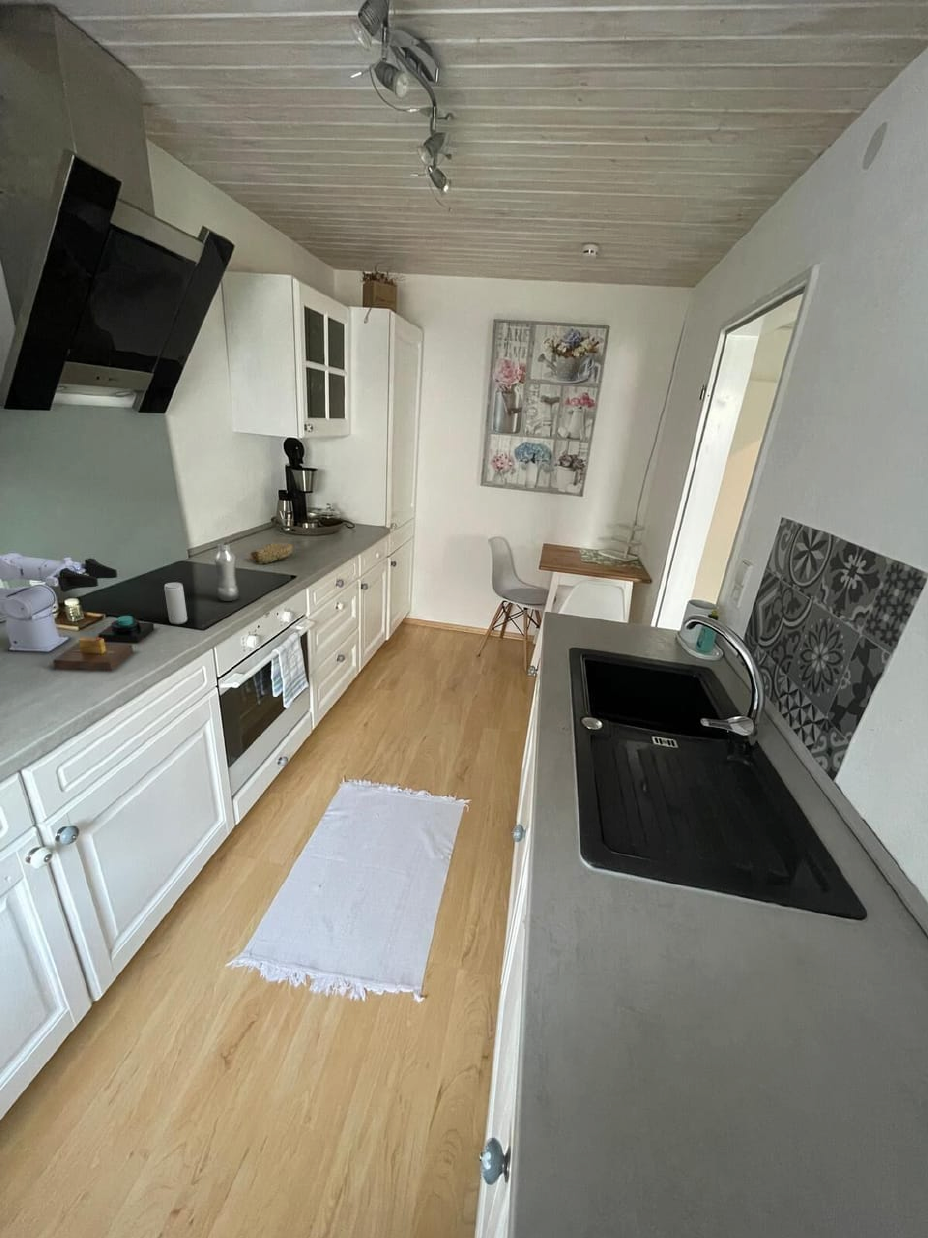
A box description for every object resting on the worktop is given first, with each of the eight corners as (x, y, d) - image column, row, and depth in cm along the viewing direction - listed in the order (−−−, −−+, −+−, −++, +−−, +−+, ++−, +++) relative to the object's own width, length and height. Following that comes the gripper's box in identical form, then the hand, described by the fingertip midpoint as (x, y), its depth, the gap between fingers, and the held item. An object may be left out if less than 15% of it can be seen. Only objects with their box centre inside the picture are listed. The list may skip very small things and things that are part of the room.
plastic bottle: (213, 600, 167) (207, 543, 159) (229, 594, 173) (224, 540, 165) (228, 604, 165) (222, 547, 157) (243, 598, 171) (238, 543, 163)
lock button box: (99, 641, 134) (96, 628, 132) (118, 627, 142) (115, 615, 140) (138, 643, 135) (135, 630, 133) (154, 629, 143) (152, 617, 142)
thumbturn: (81, 652, 123) (78, 639, 121) (85, 649, 124) (82, 636, 123) (102, 653, 123) (99, 640, 122) (106, 650, 125) (103, 637, 123)
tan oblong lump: (265, 569, 204) (304, 552, 218) (258, 552, 201) (298, 536, 214) (249, 566, 213) (288, 551, 226) (243, 550, 209) (282, 534, 222)
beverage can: (179, 625, 147) (174, 588, 142) (165, 623, 148) (160, 586, 143) (191, 620, 151) (186, 583, 147) (177, 617, 152) (172, 581, 147)
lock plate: (55, 668, 119) (52, 659, 118) (81, 650, 129) (78, 641, 127) (111, 671, 121) (109, 661, 120) (133, 652, 130) (131, 643, 129)
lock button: (115, 626, 135) (114, 620, 134) (122, 621, 138) (121, 615, 138) (128, 626, 136) (127, 621, 135) (135, 621, 139) (134, 616, 138)
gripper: (23, 563, 113) (85, 570, 115) (67, 548, 127) (122, 555, 128) (28, 591, 116) (89, 598, 117) (70, 574, 129) (124, 581, 131)
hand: (106, 577), depth 123 cm, fingers open, 7 cm apart
